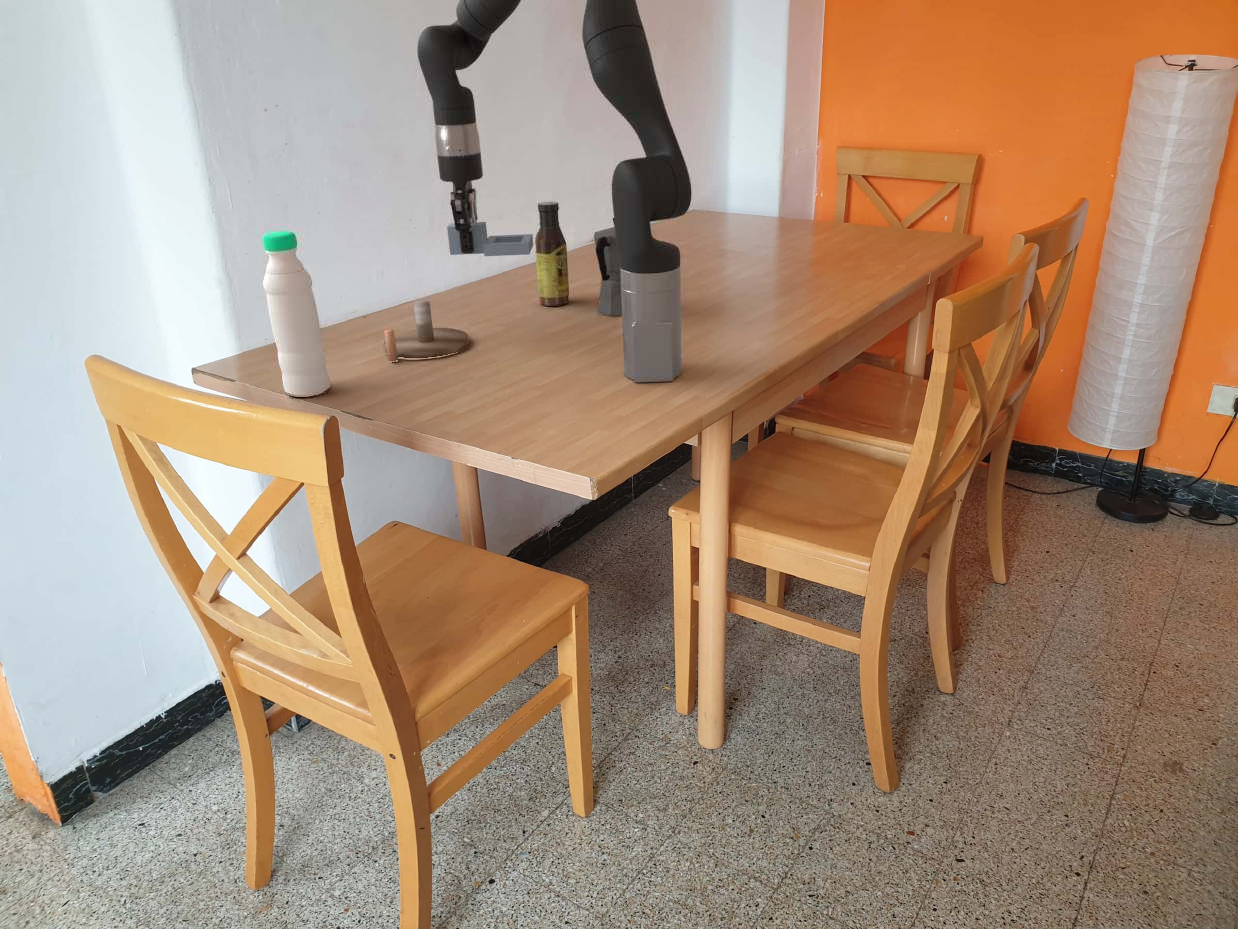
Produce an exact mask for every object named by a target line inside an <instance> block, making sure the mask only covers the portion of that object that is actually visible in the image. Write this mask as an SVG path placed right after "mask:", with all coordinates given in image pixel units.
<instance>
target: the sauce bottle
mask: <svg viewBox="0 0 1238 929" xmlns="http://www.w3.org/2000/svg"><path fill="white" fill-rule="evenodd" d="M559 210H560V207H559V202H557V201H543V202H539V203H537V211H538V213H539V214H538V215H539V228H538V232H536V235H535V238H534V239H535V241H534V243H535V264H536V265H535V266H536V279H537V281H536V282H537V293H538V294H537V295H538V298H539V299H538V301H539V304H540V305H542V306H545V307H557V306H562V305H566V304H567V303H568V302H569V300H570V298H569V296H570V284H569V281H570V280H569V268H568V266H569V265H568V248H567V242H566V238H565V236H564V233H563V231H562V230H561V226H560V222H559Z"/></svg>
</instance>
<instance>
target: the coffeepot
mask: <svg viewBox="0 0 1238 929" xmlns="http://www.w3.org/2000/svg"><path fill="white" fill-rule="evenodd" d="M612 221H613V222H612V223H613V227H610V228H606V229H602V230H599V231H595V232H594V234H593V235H594V236H593V239H594V243H595V254H596V258H597V261H598V267H599V272H600V277H601V279H600V281H601V282H600V292H599V299H598V309H597V313H599V314H600V315H602V316H607V317H613V318H614V317H615V318H616V317H617V318H619V317H621V318H622V301H621V273H620V257H619V253H618V249H617V245H616V235H615V223H614V217H612Z"/></svg>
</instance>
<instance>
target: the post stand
mask: <svg viewBox="0 0 1238 929" xmlns="http://www.w3.org/2000/svg"><path fill="white" fill-rule="evenodd" d="M430 303H431V302H430V301H428V300H418V301H415V302H413V304H412V305H413V311H414V312H413V313H414V320H415V327H416V329H412V330H408V331H405V332H404V331H403V332H401V333H397V334H395V341H396V348H397V355H398V357H404V358H428V357H437V356H443V355H448V354H452V353H456V352H459V351H461V350H463V349H465V348H466V347H467V346H468V345H469V346H470V338H469V334H468V333H466V332H465V331H463V330H461V329H455V328H449V327H433V321H432V320H433V318H432V313H431V312H432V311H431V304H430ZM469 346H468V347H469ZM468 347H467V348H468ZM467 348H466V349H467ZM466 349H465V350H466ZM384 350H385V352H386V353H387V346H386V340H385V341H384V342H383V351H384ZM463 351H464V350H463ZM385 352H384V353H385ZM461 352H462V351H461ZM459 353H460V352H459Z"/></svg>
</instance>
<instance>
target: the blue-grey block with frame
mask: <svg viewBox="0 0 1238 929" xmlns="http://www.w3.org/2000/svg"><path fill="white" fill-rule="evenodd" d="M472 227H473V230H472V235H473V245H474V251H473V253H462V252H461V244H460V235H459V232H458V231H456V229H455V223H454V222H451V223H450V222H449V224H448V225H447V226H446V229H447V236H448V237H447V238H448V245H449V246H448V247H449V254H450V256H457V255H460V256H461V255H478V254H479V255H480V254H483V256H484V257H499V256H500V257H501V256H503V257H504V256H505V257H506V256H523V255H524V256H525V255H530V254H531V251H532V249H533V247H534V237H533V236H534V235H533V233H528V234H527V233H526V234H525V233H524V234H507V235H506V234H503V235H488V230H487V222H486V221H476V222H472Z"/></svg>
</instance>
